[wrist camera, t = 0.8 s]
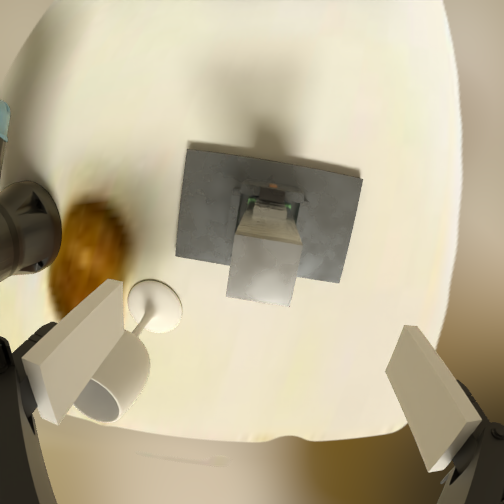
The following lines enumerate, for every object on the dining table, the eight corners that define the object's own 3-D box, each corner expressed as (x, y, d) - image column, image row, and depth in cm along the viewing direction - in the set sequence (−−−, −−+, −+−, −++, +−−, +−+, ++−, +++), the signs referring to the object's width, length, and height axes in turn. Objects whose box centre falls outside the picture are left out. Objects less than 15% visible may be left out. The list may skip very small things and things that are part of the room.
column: (244, 233, 40) (222, 298, 22) (250, 190, 39) (233, 223, 21) (282, 239, 40) (291, 309, 22) (290, 197, 39) (307, 236, 21)
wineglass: (187, 290, 45) (133, 387, 25) (176, 339, 47) (129, 440, 27) (132, 272, 44) (51, 350, 24) (125, 321, 47) (58, 408, 27)
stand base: (177, 253, 43) (154, 280, 34) (189, 149, 39) (165, 148, 30) (337, 279, 43) (353, 312, 34) (360, 178, 39) (386, 186, 29)
